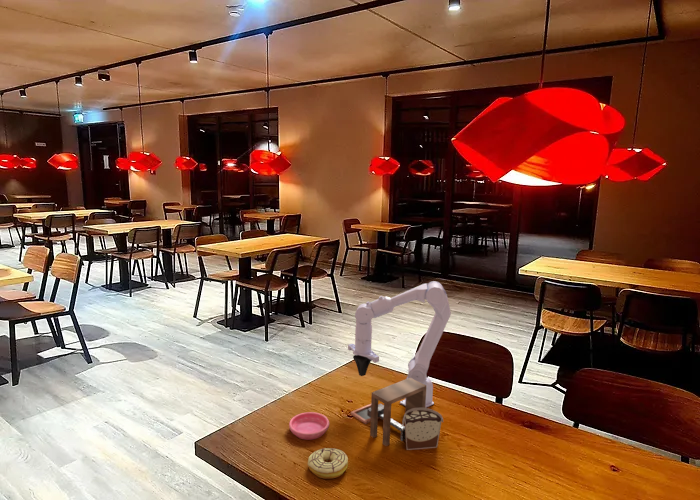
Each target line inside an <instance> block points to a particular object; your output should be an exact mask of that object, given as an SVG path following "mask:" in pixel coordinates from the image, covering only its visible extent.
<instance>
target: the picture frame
mask: <svg viewBox="0 0 700 500" xmlns="http://www.w3.org/2000/svg"><path fill="white" fill-rule="evenodd" d="M369 408H371V403H369V404H367V405H364V406H362V407H359V408H357V409H355V410H352V411H350V415H351V416H352V417H355V419H357V420H358V421H361V422H362V423H363V424H365V425H366V424H369V423H371V417H369V416H367V409H369ZM378 419H380V418H379V417H378Z"/></svg>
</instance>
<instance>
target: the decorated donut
mask: <svg viewBox="0 0 700 500" xmlns="http://www.w3.org/2000/svg"><path fill="white" fill-rule="evenodd" d="M348 460H349V458H348V455H347V454H346V453H345V451H343V450H341V449H338V448H332V447H330V448H329V447H327V448H326V447H324V448H320V449H317V450H315V451H314V452H312V453H311V454H310V456H308V460H307V467H308V470H309V471H310V472H312V474H313V475H314V476H317V477H318V478H320V479H325V480H331V479H332V480H333V479H335V478H339V477H341V476H342V475H343V474H344V472H345V471H346V470H347V468H348V467H349V466H348V465H349V461H348Z"/></svg>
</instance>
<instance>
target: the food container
mask: <svg viewBox="0 0 700 500" xmlns="http://www.w3.org/2000/svg"><path fill="white" fill-rule="evenodd" d="M405 411H406V410H405ZM402 417H403V418H402V422H401V425H403V426H405V440H404V441H405V449H406V451H412V450H425V449H435V448H438V445H439V438H440V432H441V426H442V423H444V418H443V415H442V414H441V413H439V412H438V411H436V410H434V409H431V408H429V407H426V408H412V409H410V410H408V411H406V413H405V412H404V415H403V416H402Z"/></svg>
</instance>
